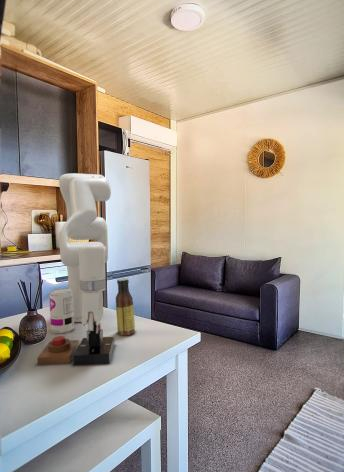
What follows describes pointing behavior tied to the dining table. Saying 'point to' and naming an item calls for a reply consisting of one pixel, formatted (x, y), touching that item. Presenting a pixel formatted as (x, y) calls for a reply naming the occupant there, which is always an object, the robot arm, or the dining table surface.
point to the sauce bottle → (124, 308)
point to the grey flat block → (100, 337)
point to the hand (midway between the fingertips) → (95, 344)
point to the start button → (59, 340)
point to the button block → (58, 353)
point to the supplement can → (61, 310)
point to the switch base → (94, 352)
